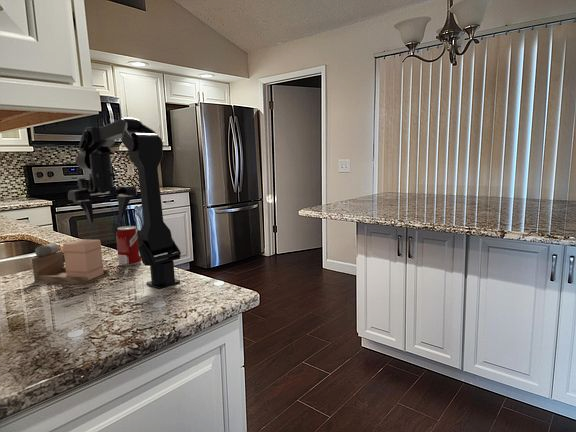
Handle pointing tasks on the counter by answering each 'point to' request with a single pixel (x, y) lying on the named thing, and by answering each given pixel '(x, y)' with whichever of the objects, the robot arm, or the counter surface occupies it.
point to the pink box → (83, 258)
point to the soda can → (128, 246)
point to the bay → (56, 267)
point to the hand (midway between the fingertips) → (106, 220)
